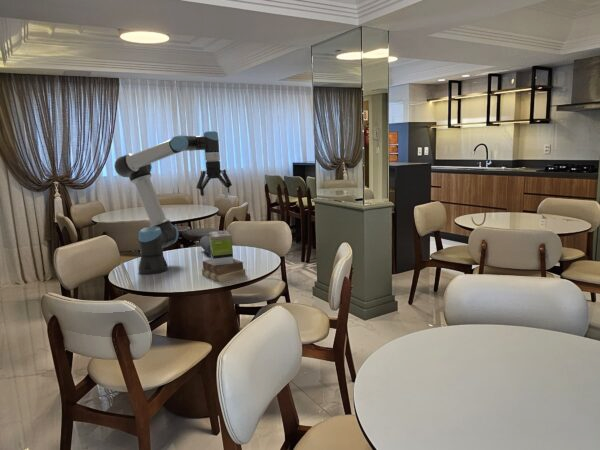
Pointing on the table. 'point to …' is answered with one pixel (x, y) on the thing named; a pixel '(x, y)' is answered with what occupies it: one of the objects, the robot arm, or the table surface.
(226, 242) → the tea box
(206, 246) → the bluetooth speaker
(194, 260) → the table surface
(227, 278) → the oak slab
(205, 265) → the walnut slab
